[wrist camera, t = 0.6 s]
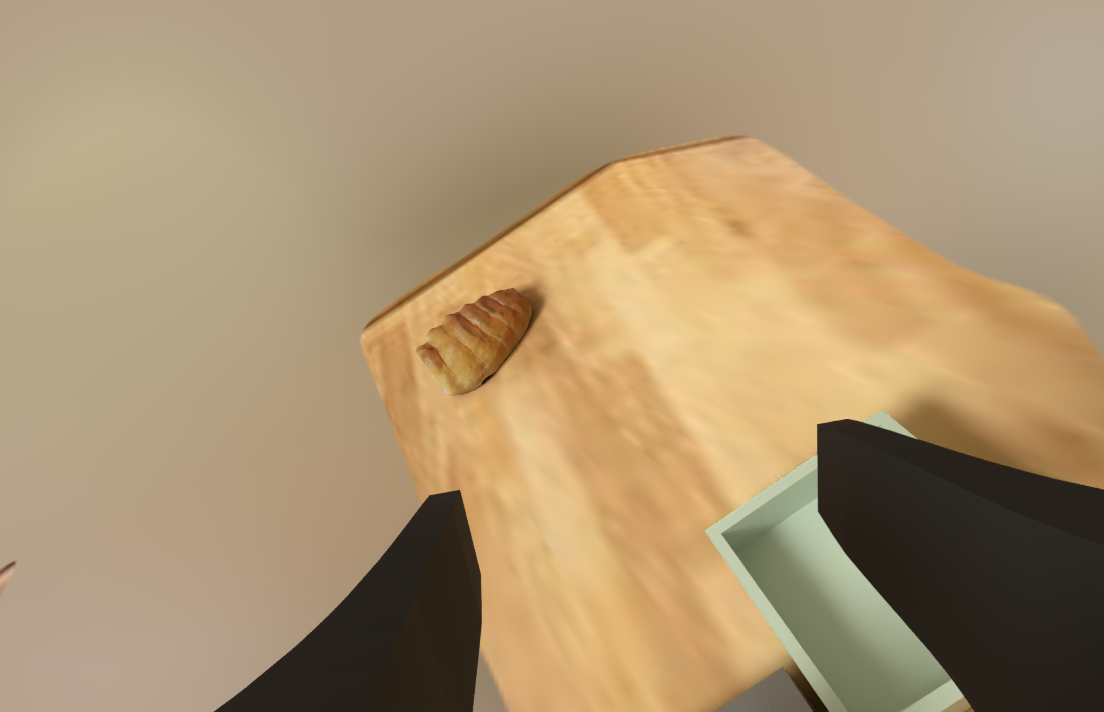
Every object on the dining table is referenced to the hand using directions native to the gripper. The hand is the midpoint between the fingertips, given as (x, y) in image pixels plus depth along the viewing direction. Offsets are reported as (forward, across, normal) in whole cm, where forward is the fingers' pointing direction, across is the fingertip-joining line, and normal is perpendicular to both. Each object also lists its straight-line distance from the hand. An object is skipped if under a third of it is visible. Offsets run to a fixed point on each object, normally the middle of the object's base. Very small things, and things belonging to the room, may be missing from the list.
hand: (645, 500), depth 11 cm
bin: (+8, -10, +11) cm, 17 cm away
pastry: (+33, +6, +7) cm, 34 cm away
